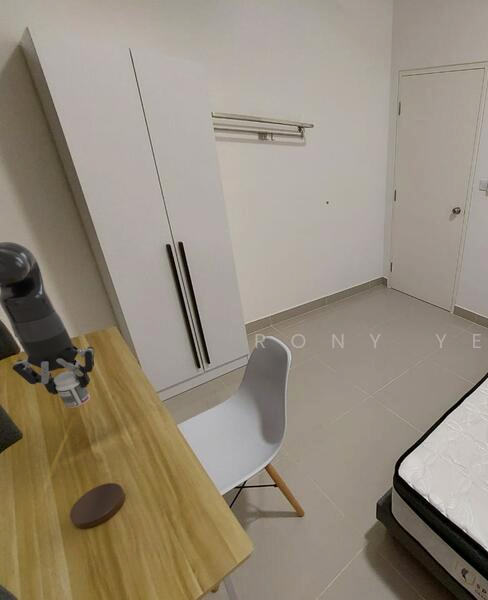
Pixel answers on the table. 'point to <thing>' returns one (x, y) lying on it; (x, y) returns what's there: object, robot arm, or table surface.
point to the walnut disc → (97, 505)
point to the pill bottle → (71, 389)
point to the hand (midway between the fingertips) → (71, 388)
